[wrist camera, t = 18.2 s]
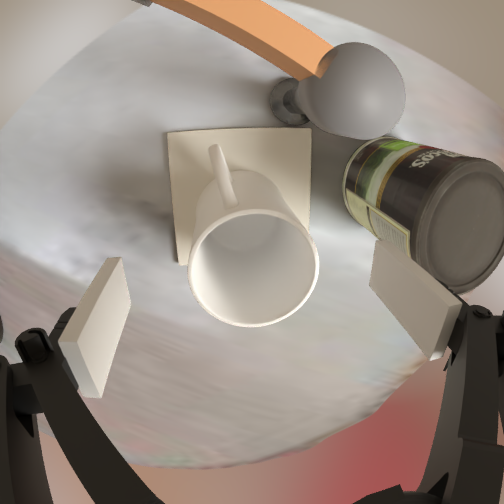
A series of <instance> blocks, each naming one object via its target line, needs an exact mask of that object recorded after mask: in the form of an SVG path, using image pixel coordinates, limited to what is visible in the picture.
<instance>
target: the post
mask: <svg viewBox="0 0 504 504" xmlns="http://www.w3.org/2000/svg"><path fill="white" fill-rule="evenodd" d="M298 85H299V81H298V80H297V79H295V78H290V79H286V80H284V81H282V82H281V83H279V84H278V85H277V86H276V87H275V88H274V89H273V91H272V93H271V97H270V105H271V108H272V111H273V113H274V114H275V116H276V117H277V118H278V119H280V120H281V121H283V122H285V123H287V124H292V125H300V124H304V123H307V122H309V121H310V120H309V118H308V117H307V116H306V114H305V112H304V111H303V109H302V106H301V104H300V100H299V95H298Z"/></svg>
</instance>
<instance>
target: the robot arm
mask: <svg viewBox="0 0 504 504" xmlns="http://www.w3.org/2000/svg"><path fill="white" fill-rule="evenodd" d="M369 286H370V287H371V289H372V290H373V291H374V292H375V293H376V295H377V296H378V297H379V298H380V299H381V300H382V302H383V303H384V304H385V305H386V307H387V308H388V309H389V310H390V311H391V313H392V314H393V315H394V316H395V318H396V319H397V320H398V321H399V322H400V324H401V325H402V326H403V327H404V329H405V330H406V331H407V332H408V334H409V335H410V336H411V337H412V339H413V340H414V341H415V343H416V344H417V345H418V346H419V348H420V349H421V350H422V352H423V353H424V354H425V355H426V357H427V358H428V359H429V361H431V360H434V359H437V358H440V357H443V355H444V352H445V350H446V348H447V346H448V347H449V348H450V349H451V350H452V352H451V354H450V356H449V359H448V361H447V363H446V366H445V368H444V370H443V371H446V369H447V368H448V369H447V376H446V382H445V389H444V394H443V400H442V405H441V410H440V415H439V420H438V424H437V428H436V432H435V437H434V440H433V445H432V448H431V452H430V456H429V459H428V463H427V466H426V469H425V473H424V476H423V479H422V481H421V483H420V486H419V487H418V489H417V491H416V492H415V491H404V492H403V490H402V488H401V486H400V484H399V485H396V486H394V487H391V488H388V489H385V490H382V491H379V492H376V493H373V494H370V495H367V496H366V497H364V498H362V499H360V500H358V501H357V502H355V503H353V504H499V499H500V493H501V487H502V480H503V472H504V446H502V445H497V433H498V412H499V413H500V418H501V422H502V427H503V433H504V311H503V314H502V316H493V315H492V313H491V312H490V310H488V309H486V308H485V307H482V306H479V305H471V306H469V305H468V304H467V303H466V302H465V301H464V300H463V299H462V298H460V297H459V296H458V295H457V294H456V293H454V291H453V290H451V289H449V287H448V286H447V285H446V284H445V283H443V282H442V281H440V280H438V279H436V278H433V277H432V276H431V275H430V274H429V273H428V272H426V271H425V270H424V269H423V268H422V267H420V266H419V265H418V264H417V263H416V262H414V261H413V260H412V259H411V258H410V257H408V256H407V255H406V254H405V253H404V252H402V251H401V250H400V249H399V248H397V247H396V246H395V245H394V244H392V243H391V242H390V241H389V240H377V241H376V243H375V250H374V257H373V264H372V271H371V277H370V283H369ZM130 307H131V301H130V296H129V292H128V287H127V283H126V278H125V273H124V268H123V263H122V258H121V257H114V258H107V259H106V261H105V262H104V264H103V265H102V267H101V268H100V270H99V272H98V273H97V275H96V276H95V278H94V280H93V281H92V283H91V284H90V286H89V288H88V289H87V291H86V293H85V294H84V296H83V298H82V299H81V301H80V303H79V304H78V306H77V307H73V308H69V309H68V310H66V311H65V312H64V313H63V314H62V315H61V317H60V318H59V320H58V323H56V325H55V327H54V329H53V330H52V332H51V333H50V335H49V337H48V335H47V333H46V331H45V330H44V329H41V328H31V329H28V330H26V331H24V332H22V333H21V334H20V335H19V336H18V337H17V339H16V341H15V347H16V349H17V351H18V353H19V355H20V357H21V359H22V361H23V362H22V363H16V364H11V365H10V364H9V362H8V360H7V359H6V358H5V357H4V356H2V355H0V504H53V501H52V497H51V493H50V489H49V485H48V480H47V476H46V471H45V466H44V461H43V456H42V450H41V445H40V438H39V431H38V424H37V416H36V414H38V413H44V414H45V417H46V419H47V421H48V423H49V425H50V427H51V429H52V431H53V433H54V435H55V437H56V439H57V441H58V443H59V445H60V447H61V448H62V450H63V452H64V454H65V456H66V458H67V459H68V461H69V463H70V465H71V466H72V468H73V470H74V471H75V473H76V475H77V476H78V478H79V479H80V481H81V483H82V484H83V486H84V488H85V489H86V490H87V492H88V494H89V495H90V496H91V498H92V500H93V501H94V502H95V504H165V503H164V502H163V501H161V500H160V499H159V498H157V497H156V496H155V494H154V493H153V492H152V491H151V490H150V489H149V488H148V487H147V486H146V485H145V483H144V482H143V481H142V480H141V479H140V478H139V476H138V475H137V474H136V473H135V472H134V470H133V469H132V468H131V467H130V466H129V465H128V463H127V462H126V461H125V459H124V458H123V457H122V456H121V454H120V453H119V452H118V450H117V449H116V448H115V447H114V445H113V444H112V443H111V441H110V440H109V438H108V437H107V436H106V434H105V433H104V432H103V430H102V429H101V427H100V426H99V424H98V423H97V421H96V420H95V419H94V417H93V416H92V414H91V413H90V411H89V410H88V408H87V406H86V405H85V403H84V402H83V400H82V399H81V397H80V395H79V394H78V392H77V390H78V387H79V389H80V391H81V393H82V395H83V396H84V397H91V398H102V394H103V390H104V387H105V384H106V380H107V377H108V373H109V370H110V367H111V364H112V360H113V357H114V354H115V351H116V348H117V345H118V342H119V339H120V336H121V333H122V330H123V327H124V324H125V321H126V318H127V315H128V312H129V310H130ZM2 337H3V326H2V321H1V317H0V343H1V341H2Z"/></svg>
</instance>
